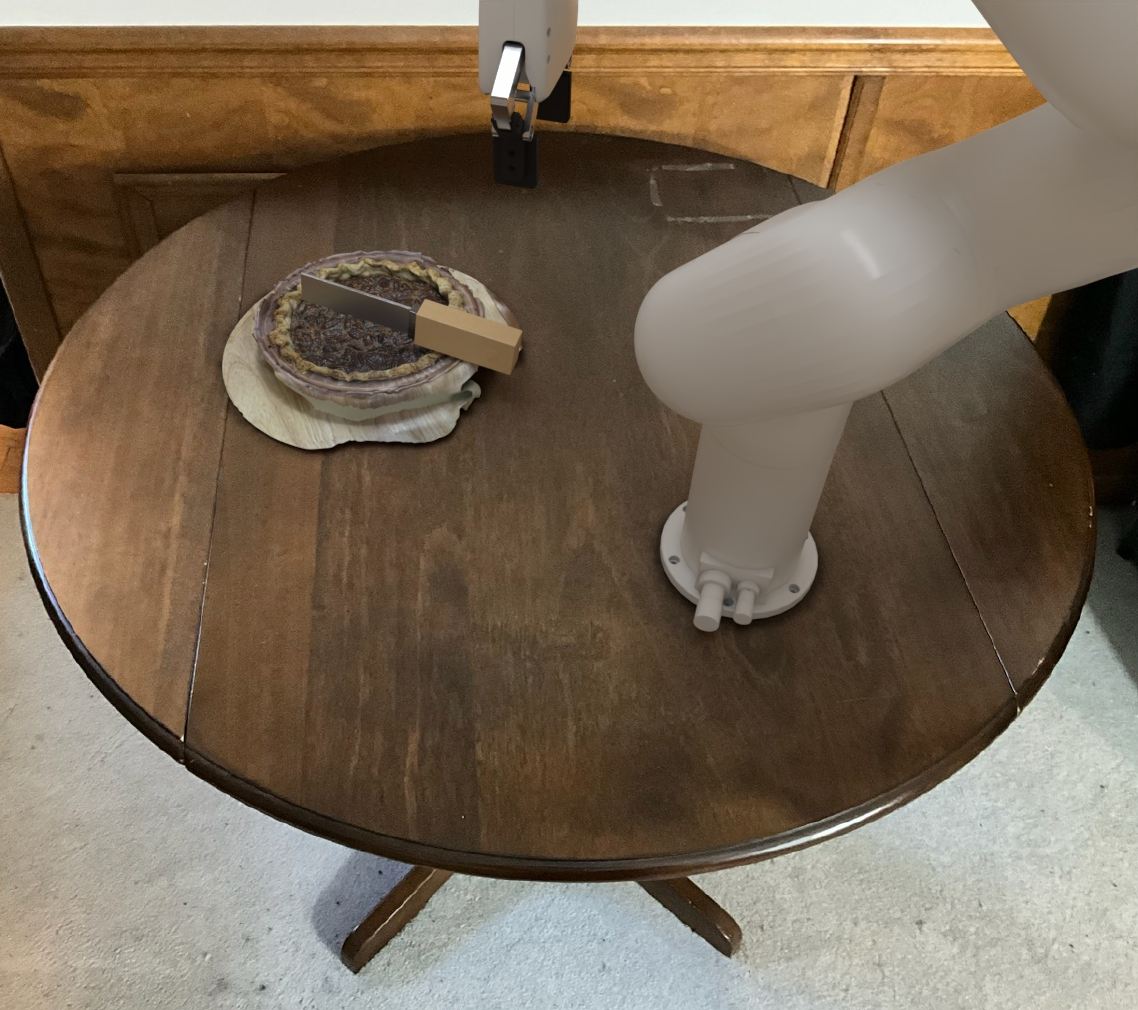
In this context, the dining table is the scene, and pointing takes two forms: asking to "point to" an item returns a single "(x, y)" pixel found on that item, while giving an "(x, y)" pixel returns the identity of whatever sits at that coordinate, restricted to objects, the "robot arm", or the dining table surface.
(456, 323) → the knife
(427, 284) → the pie
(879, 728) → the dining table surface
